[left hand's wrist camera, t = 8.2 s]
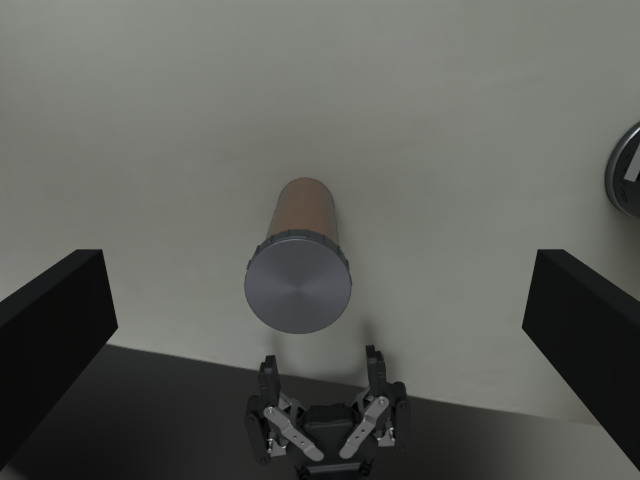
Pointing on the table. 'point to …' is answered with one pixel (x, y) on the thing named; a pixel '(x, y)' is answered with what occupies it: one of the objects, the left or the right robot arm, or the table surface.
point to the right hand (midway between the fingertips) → (320, 356)
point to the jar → (305, 209)
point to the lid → (298, 281)
